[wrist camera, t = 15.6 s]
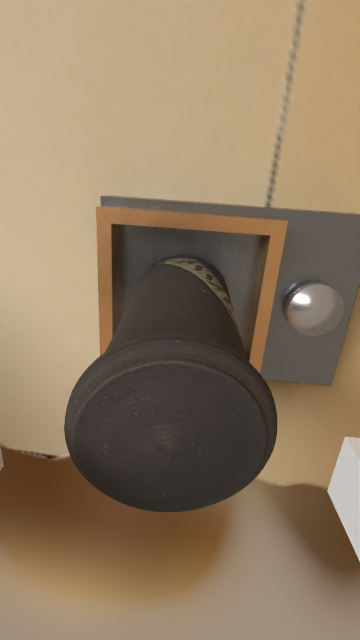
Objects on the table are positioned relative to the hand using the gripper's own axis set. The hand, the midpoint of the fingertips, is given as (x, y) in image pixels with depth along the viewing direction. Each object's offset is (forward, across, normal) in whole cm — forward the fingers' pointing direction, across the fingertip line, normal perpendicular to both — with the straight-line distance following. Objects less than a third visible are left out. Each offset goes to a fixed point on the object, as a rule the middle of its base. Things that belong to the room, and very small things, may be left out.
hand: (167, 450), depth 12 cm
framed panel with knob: (+24, +4, 0) cm, 24 cm away
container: (+20, 0, 0) cm, 20 cm away
